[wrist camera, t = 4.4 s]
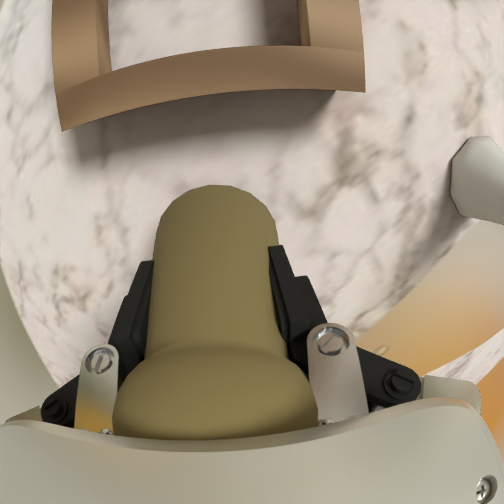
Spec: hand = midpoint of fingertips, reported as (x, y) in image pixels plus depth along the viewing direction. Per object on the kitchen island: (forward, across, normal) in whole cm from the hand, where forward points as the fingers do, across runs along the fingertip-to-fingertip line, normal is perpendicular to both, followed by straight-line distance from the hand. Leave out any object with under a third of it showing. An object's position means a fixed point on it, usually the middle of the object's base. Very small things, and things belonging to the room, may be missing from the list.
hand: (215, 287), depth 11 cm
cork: (+4, 0, 0) cm, 4 cm away
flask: (+7, -21, -2) cm, 22 cm away
